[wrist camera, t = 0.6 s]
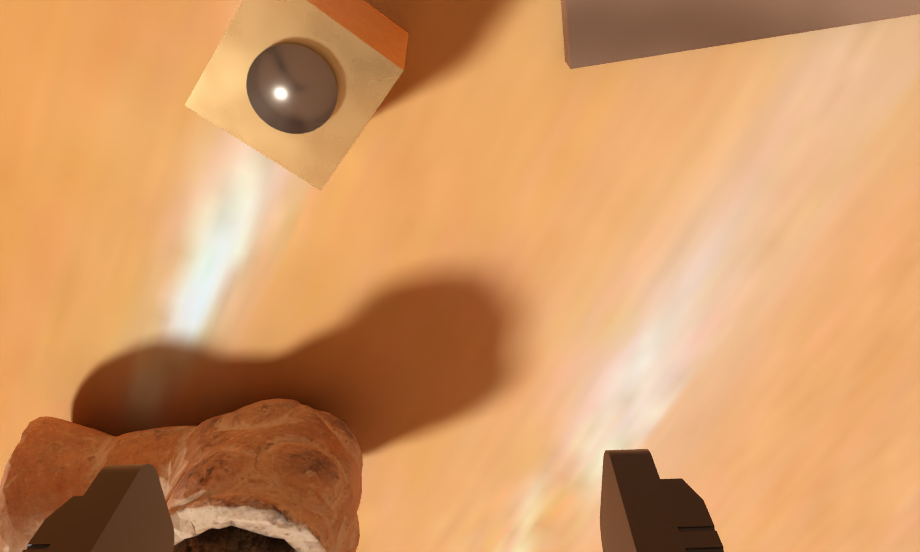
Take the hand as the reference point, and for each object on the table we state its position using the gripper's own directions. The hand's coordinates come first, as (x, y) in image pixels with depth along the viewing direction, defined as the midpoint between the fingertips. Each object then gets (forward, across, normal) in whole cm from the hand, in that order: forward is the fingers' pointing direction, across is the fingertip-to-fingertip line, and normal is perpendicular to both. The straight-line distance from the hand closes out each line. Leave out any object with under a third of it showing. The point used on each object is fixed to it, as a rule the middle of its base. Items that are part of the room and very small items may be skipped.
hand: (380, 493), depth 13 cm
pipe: (+20, +12, +14) cm, 27 cm away
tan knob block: (+19, +4, -5) cm, 20 cm away
